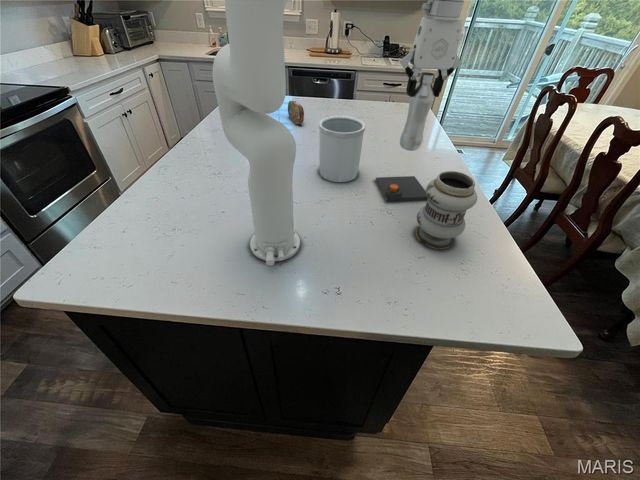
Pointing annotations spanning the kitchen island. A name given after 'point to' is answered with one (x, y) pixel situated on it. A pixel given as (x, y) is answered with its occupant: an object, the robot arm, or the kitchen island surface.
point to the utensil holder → (340, 147)
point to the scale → (401, 189)
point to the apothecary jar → (445, 209)
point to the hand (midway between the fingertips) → (422, 94)
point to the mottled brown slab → (295, 112)
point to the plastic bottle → (418, 112)
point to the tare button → (393, 188)
